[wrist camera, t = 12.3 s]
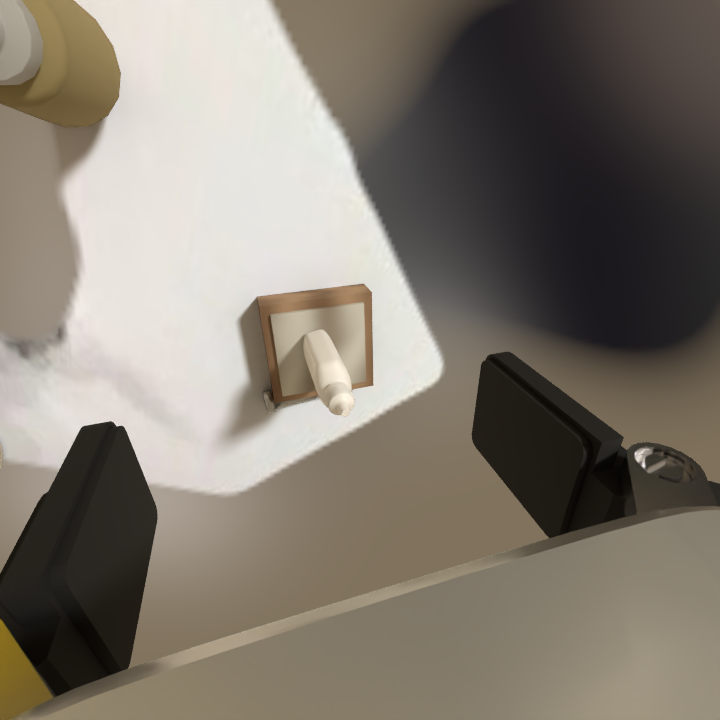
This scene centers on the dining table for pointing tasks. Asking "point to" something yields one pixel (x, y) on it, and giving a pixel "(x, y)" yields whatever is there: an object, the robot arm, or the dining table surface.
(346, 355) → the picture frame
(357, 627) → the robot arm
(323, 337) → the eye dropper bottle
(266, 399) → the loose bolt
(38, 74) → the squeeze bottle
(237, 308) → the dining table surface
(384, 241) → the dining table surface
